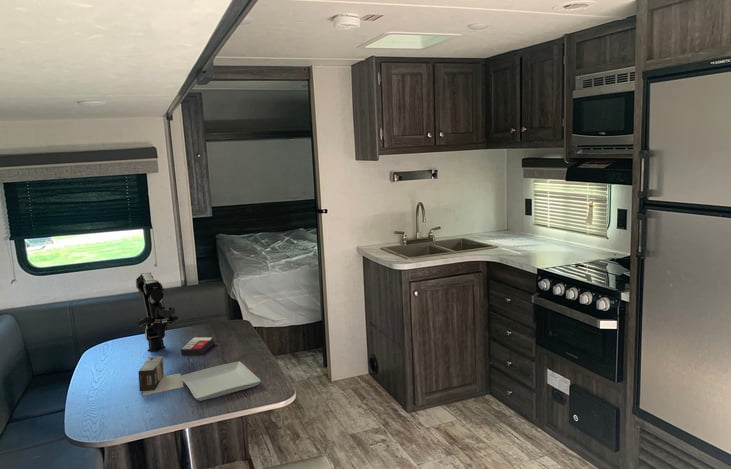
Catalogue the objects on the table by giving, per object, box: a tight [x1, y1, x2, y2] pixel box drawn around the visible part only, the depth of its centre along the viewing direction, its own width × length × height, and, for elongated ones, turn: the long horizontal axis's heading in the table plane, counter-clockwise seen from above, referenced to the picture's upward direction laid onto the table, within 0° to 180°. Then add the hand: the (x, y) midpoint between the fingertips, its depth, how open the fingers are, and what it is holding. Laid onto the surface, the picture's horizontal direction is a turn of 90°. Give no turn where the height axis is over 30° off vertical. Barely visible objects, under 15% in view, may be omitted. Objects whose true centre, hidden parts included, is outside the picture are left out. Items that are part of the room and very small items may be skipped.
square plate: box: [179, 361, 262, 402], centre depth 230 cm, size 27×27×4 cm
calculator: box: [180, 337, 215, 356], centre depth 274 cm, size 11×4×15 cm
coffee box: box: [137, 355, 165, 392], centre depth 234 cm, size 9×6×16 cm
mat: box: [142, 372, 185, 397], centre depth 234 cm, size 16×16×1 cm
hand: (162, 338), depth 256 cm, fingers closed
